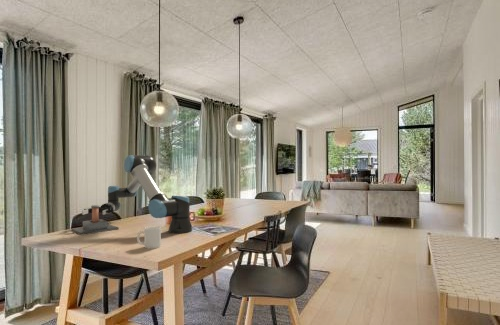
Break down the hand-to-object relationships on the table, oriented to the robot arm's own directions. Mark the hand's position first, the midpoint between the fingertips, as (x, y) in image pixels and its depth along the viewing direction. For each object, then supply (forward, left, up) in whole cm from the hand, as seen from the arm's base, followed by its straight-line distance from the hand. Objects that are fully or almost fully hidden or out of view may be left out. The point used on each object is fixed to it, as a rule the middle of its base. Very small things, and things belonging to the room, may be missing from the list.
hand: (92, 212), depth 213 cm
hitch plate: (-2, -2, -12) cm, 12 cm away
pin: (-2, -2, -11) cm, 11 cm away
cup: (-6, +66, -12) cm, 67 cm away
